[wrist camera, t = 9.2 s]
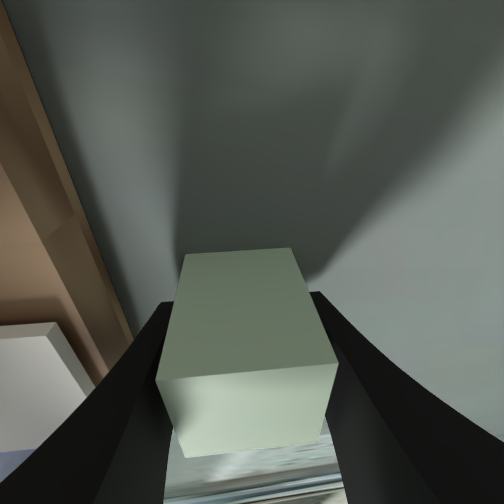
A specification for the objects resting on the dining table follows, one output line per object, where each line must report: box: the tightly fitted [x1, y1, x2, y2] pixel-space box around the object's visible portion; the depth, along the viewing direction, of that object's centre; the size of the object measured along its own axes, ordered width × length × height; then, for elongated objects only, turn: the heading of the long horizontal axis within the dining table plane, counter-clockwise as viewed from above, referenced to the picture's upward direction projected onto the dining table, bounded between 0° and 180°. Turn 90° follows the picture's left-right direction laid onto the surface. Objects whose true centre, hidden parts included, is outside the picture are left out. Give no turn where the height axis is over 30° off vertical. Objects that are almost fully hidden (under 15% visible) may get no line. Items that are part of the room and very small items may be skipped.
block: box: [155, 247, 339, 458], centre depth 9 cm, size 4×4×5 cm
